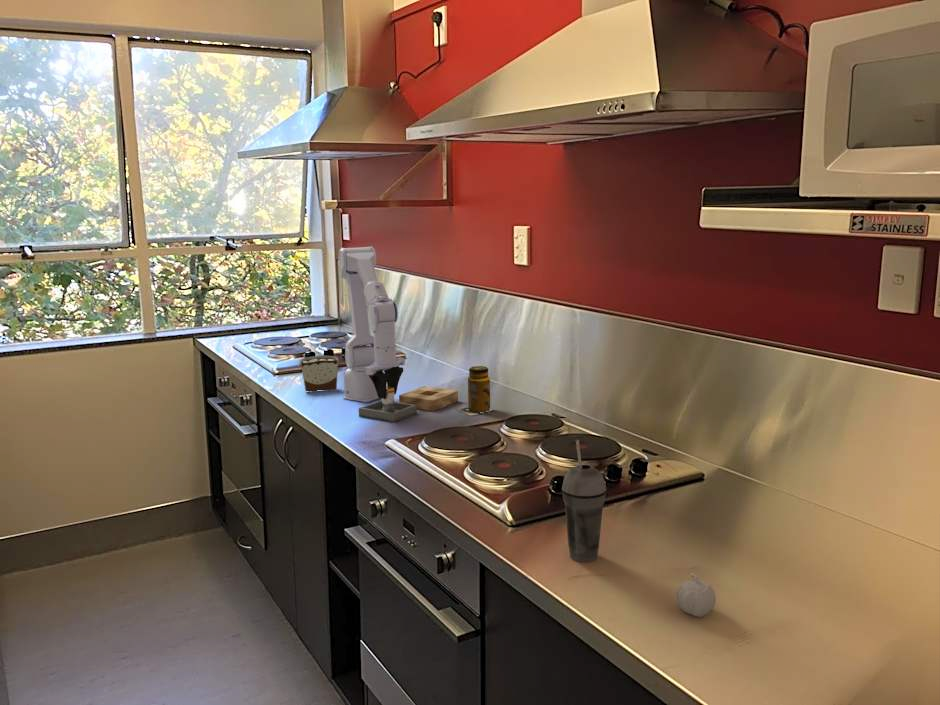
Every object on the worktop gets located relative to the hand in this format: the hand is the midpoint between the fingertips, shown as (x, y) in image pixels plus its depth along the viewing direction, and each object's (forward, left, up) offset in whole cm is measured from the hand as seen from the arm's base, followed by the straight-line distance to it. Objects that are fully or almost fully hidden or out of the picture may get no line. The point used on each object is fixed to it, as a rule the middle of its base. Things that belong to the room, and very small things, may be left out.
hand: (387, 395), depth 218 cm
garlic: (+103, -60, -6) cm, 119 cm away
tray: (0, 0, -5) cm, 5 cm away
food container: (-37, +13, -6) cm, 40 cm away
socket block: (+3, +15, -5) cm, 16 cm away
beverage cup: (+82, -52, -6) cm, 97 cm away
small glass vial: (0, 0, -5) cm, 5 cm away
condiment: (+19, +15, -6) cm, 25 cm away
